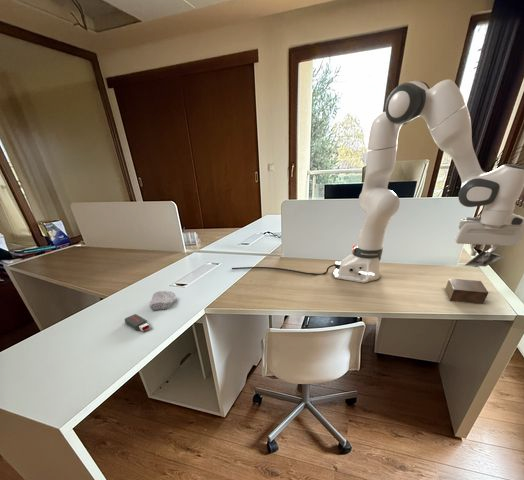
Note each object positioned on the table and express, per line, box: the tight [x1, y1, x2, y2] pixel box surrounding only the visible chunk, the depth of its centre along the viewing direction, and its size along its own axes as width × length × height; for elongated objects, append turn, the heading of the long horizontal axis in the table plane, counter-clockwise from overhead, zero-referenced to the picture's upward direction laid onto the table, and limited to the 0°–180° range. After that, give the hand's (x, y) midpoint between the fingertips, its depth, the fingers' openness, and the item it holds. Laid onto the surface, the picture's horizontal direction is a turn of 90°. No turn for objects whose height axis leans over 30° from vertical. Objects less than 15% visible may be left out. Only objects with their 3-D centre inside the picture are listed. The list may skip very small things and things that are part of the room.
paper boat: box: [465, 250, 504, 267], centre depth 110 cm, size 12×6×9 cm
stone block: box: [148, 290, 177, 311], centre depth 126 cm, size 12×5×10 cm
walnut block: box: [444, 278, 490, 305], centre depth 119 cm, size 12×12×5 cm
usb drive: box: [124, 313, 151, 333], centre depth 112 cm, size 5×12×3 cm, turn 48°
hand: (479, 255), depth 111 cm, fingers closed on paper boat, 3 cm apart
